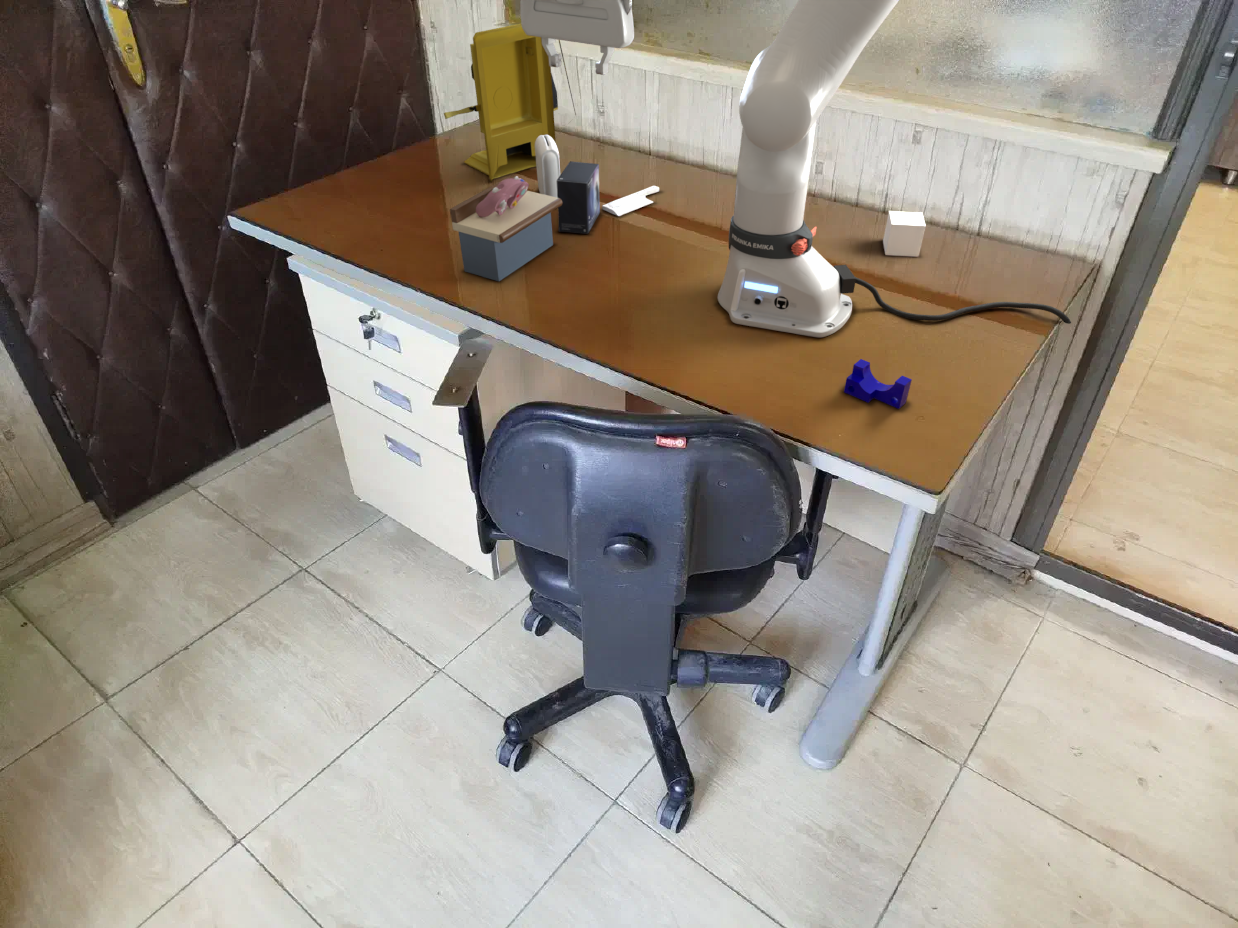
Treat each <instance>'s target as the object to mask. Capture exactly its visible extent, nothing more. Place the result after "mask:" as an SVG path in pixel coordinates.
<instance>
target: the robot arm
mask: <svg viewBox="0 0 1238 928" xmlns="http://www.w3.org/2000/svg"><path fill="white" fill-rule="evenodd" d="M899 2H900V0H797V2H796V4H795V5H794V7H793V9H792V10H791V12H790V14H789V15H788V17H787V19H786V20H785V22H784V23H783V25H782V27H781V28H780V30H779V31H778V33H777V34H776V36H775V38H774V40H772V42H771V44H770V45H768V46H767V47H765V48H764V49H762V50H761V51H760V52H759V53H758V55H756V57H755V58H754V60H753V61H752V63H751V66H750V68H749V70H748V73H747V76H746V79H745V82H744V85H743V87H742V88H743V89H742V91H741V93H740V98H739V104H738V115H739V119H740V122H741V123H740V124H741V126H742V130H741V138H740V145H739V146H740V147H739V155H738V162H737V163H738V164H737V168H736V179H735V194H734V206H733V215H732V216H731V217H730V223H729V229H728V250H729V252H728V259H727V263H726V268H725V273H724V276H723V280H722V283H721V285H720V288H719V291H718V294H717V301H718V303H719V305H720V307H722V309H724V310H725V311H726V312H727V313H728V314H729V319H730V321H731V322H732V323H734V324H736V325H743V326H747V327H748V326H749V327H754V328H758V329H765V330H771V331H778V332H783V333H790V334H794V335H795V334H796V335H801V336H805V337H813V338H825V337H827V336H830V335H833V334H834V333H837V332H838V331H839V330H841V328H843V327H844V326H845V324H847V322H848V321H849V320H850V317H851V315H852V312H853V301H852V298H851V297H850V296H848V295H846V294H854V291H855V287H856V284H857V285H860V286H862V287H863V288H865V289H867V290H868V291H869V292H870V293H871V294H872V296H873V297H874V300H875V302H876V303H877V305H878V306H880V308H882V309H884V310H885V311H887V312H889V313H891V314H894V315H897V316H899V317H901V318H905V319H908V320H916V321H926V322H936V321H945V320H949V319H952V318H955V317H957V316H960V315H963V314H967V313H972V312H978V311H983V310H989V309H997V308H1012V309H1013V308H1014V309H1027V310H1028V309H1029V310H1039V311H1040V310H1041V311H1045V312H1048V313H1051V314H1053V315H1055V316H1057V317H1058V318H1059V319H1060V320H1061V321H1062V322H1063V323H1065V324H1068V325H1069V324H1070V325H1071V324H1072V321H1071V319H1070V317H1069V316H1068V315H1066V314H1065V312H1063V311H1062V310H1060V309H1058V308H1056V307H1054V306H1051V305H1048V304H1043V303H1034V302H1032V303H1031V302H1016V301H995V302H994V301H993V302H987V303H981V304H976V305H971V306H967V307H962V308H959V309H956V310H953V311H950V312H947V313H943V314H919V313H912V312H906V311H902V310H900V309H897V308H895V307H892V306H891V305H889V304H888V303H886V302H885V301H883V299H882V298H881V295H880V293H879V291H878V290H877V289H876V287H875V286H874V285H872V284H871V283H869V282H867V281H865V280H863V279H862V278H859V277H856V276H855V275H854V274H853V272H852V271H851V269H850V268H849V266H847V264H837V265H832V264H831V263H830V262H828V260H826V259H825V258H824V257H823V256H822V254H821V253H819V251H817V250H816V248H815V247H814V246H813V239H814V237H815V236H816V233H817V226H814V227H813V228H812V229H810V228H809V227H808V226H807V224H806V221H805V220H804V217H805V210H806V204H807V203H806V202H807V196H808V188H809V181H810V180H809V179H810V173H811V165H812V157H813V148H814V141H815V133H816V127H817V121H818V119H819V118H820V116H821V115H822V113H823V112H824V110H825V109H826V107H827V106H828V105H829V103H830V101H831V100H832V98H833V97H834V95H836V93H837V91H838V89H839V88H840V86H841V85H842V83H843V82H844V80H845V79H846V77H847V76H848V74H849V72H850V70H851V69H852V68H853V66H854V64H855V62H856V61H857V60H858V58H859V56H860V54H862V51H864V49H865V46H866V45H867V44H868V43H869V41H871V39H872V37H873V36H874V35H875V33H876V32H877V31H878V30H879V28H880V27H881V25H882V24H883V22H884V21H885V20H886V19H887V18H888V16H889V15H890V13H891V12H892V10H893V9H894V8H895V6H896V5H897V4H898V3H899ZM519 5H520V7H519V9H520V12H519V13H520V24H522V28H523V30H524V32H525V33H526V35H529V36H536V37H541V38H542V45H543V47H544V49H545V51H546V53H547V55H548V57H549V66H551V68H559V67H561V66H562V63H563V58H562V53H558V51H557V49H556V46H555V43H556V42H557V41H556V40H558V41H559V40H560V41H566V42H572V43H577V44H578V43H579V44H586V45H593V46H599V50H600V53H601V54H602V56H601V58H600V60H599V61H596V62H595V63H594V65H595V74H596V75H602V76H605V75H608V73H609V72H610V71H609V69H610V68H609V62H610V60H611V58H612V57H613V54H614V53H615V49H623V48H625V47H628V46H630V45H631V44H632V42H633V41H634V38H635V27H634V17H633V9H632V6H633V0H520V3H519Z"/></svg>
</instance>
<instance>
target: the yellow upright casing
mask: <svg viewBox="0 0 1238 928" xmlns="http://www.w3.org/2000/svg"><path fill="white" fill-rule="evenodd" d="M558 45H559V48H560V54H561V58H562V63H563V65H564V71H565V75H566V79H567V84H568V88H569V94H570V98H571V102H572V107H573V111H574V115H575V116H574V117H577V113H576V108H575V103H574V100H573V99H574V98H573V95H572V90H571V85H570V81H569V76H568V72H567V68H566V63H565V58H564V54H563V48H562V45H561V40H558ZM469 48H470V55H471V61H472V62H471V66H470V71H471V78H472V80H473V81H474V89H475V96H476V97H475V98H476V104H475V105H471V106H470V105H469V106H467V107H464V108H461V109H458V110H452V111H446V112H443V117H444V119H445V120H447V119H450V118H452V117H456V116H458V115H463V114H468V113H473V112H478V120H479V128H480V133H482V134H483V136H484V144H485V149H483V150H480V151H477V152H473V153H472V154H471V155H470V156H469V157H468V158H467V159H466V160H464V161H463V162H464V164H465V165H467V166H468V167H470V168H473V169H475V170H477V171H479V172H481V173H483V174H484V175H486V176H488V177H489V182H490V183H493V180H494V179H498V178H501V177H505V176H508V175H512V174H514V173H517V172H521V171H524V170H527V169H530V168H534V167H536V155H535V141H536V139H537V138H538V136H540V135H549V136H550V137H552V139H553V140H554V141H555V143H556V142H557V141H556V126H555V112H556V111H557V110H558V109H559V102H558V91H557V87H556V84H555V80H554V77H553V73H552V67H551V66H549V57H548V55H547V53H546V51H545V49H544V47H543V45H542V38H541V37H536V36H529V35H526V33H525V32H524V30H523V28H522V24H521V23H516V24H511V25H506V26H502V27H497V28H492V29H491V28H490V29H486V30H482V31H481V30H480V31H476V32H475V33H474V34H473V37H472V43H470V44H469ZM571 121H572V120H570V122H568V124H570V123H571ZM563 130H564V129H563ZM563 130H561V131H560V133H562V132H563ZM556 144H557V143H556Z"/></svg>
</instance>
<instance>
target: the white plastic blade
mask: <svg viewBox="0 0 1238 928" xmlns="http://www.w3.org/2000/svg"><path fill="white" fill-rule="evenodd" d="M658 192H660V187H659V186H658V185H657V186H656V185H652V186H649V187H647V188H644V189H641V190H639V191H636V192H634V193H631V194H628V195H625V196H623V197H620V198H617V199H614V200H613V201H610V202H608V203H605V204H602V205H601V210H603V211H606V212H608V213H610V214H612V215H615V216H616V217H621V216H623V215H625V214H628V213H631V212H634V211H635V210H638V209H640V208H642V207H646V206H648V205H650V204H651V205H652V204H653V203H654V201H653V200H651V199H649V198H647V197H646V196H648V195H652V194H655V193H658Z"/></svg>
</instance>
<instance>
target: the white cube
mask: <svg viewBox="0 0 1238 928" xmlns="http://www.w3.org/2000/svg"><path fill="white" fill-rule="evenodd" d="M926 228H927V225H926V222H925V217H924V213H923V212H921V211H920V212H918V211H902V210H901V211H898V210H888V214H887V219H886V224H885V229H884V233H883V238H882V244H883V249H884V254H885V256H898V257H917V258H919V257H920V254H921V249H922V245H923V240H924V236H925V233H926Z"/></svg>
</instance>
